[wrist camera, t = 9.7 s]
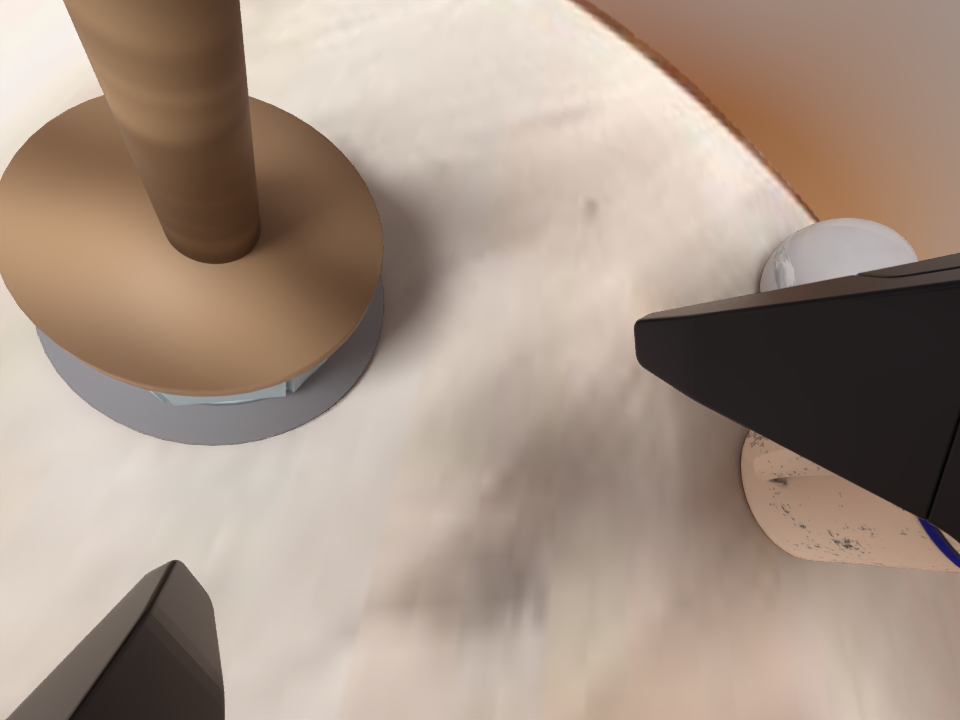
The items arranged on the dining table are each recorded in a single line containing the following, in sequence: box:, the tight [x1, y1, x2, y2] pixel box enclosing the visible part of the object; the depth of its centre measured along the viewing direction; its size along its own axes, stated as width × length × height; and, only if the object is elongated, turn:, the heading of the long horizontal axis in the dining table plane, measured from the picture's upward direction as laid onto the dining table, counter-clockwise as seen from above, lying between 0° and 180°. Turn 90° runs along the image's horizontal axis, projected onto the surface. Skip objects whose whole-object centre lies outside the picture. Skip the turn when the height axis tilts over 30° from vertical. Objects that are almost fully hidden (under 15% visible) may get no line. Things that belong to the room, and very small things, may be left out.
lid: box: [0, 0, 383, 397], centre depth 11 cm, size 11×11×12 cm
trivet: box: [36, 276, 384, 446], centre depth 20 cm, size 13×13×1 cm
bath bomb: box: [760, 218, 918, 292], centre depth 30 cm, size 8×8×8 cm
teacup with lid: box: [741, 430, 960, 573], centre depth 24 cm, size 12×9×12 cm
